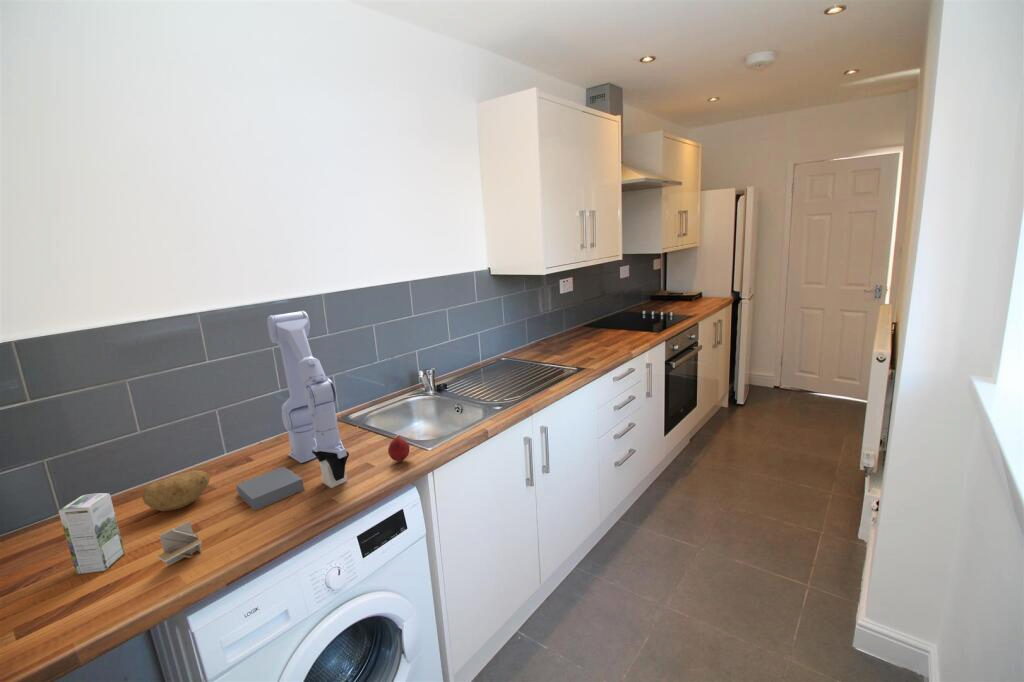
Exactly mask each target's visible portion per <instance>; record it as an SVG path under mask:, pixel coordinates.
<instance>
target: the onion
mask: <svg viewBox="0 0 1024 682" xmlns="http://www.w3.org/2000/svg"><path fill="white" fill-rule="evenodd" d="M387 451H388V452H387V453H388V456H389V457H390V458H391V460H393V461H394V462H397V463H403V461H404V460H405V459H406V458H407V457H408V456H409V455H410V445H409V443H408V442H407V441H406V440H405V439H403V438H401V436H400V435H399V434H397V435H395V438H394V439H393V440H392V441H391V442H389V445H388V448H387Z"/></svg>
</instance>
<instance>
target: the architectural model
mask: <svg viewBox="0 0 1024 682" xmlns="http://www.w3.org/2000/svg"><path fill="white" fill-rule="evenodd" d="M159 539H160V542H161V545H162V551H163V552H162V553H160V554H158V555H157V558H158V559H159V560H161V561H162V562H164V563H166V566H167V567H169V566H172V565H173V564H175V563H177V562H179V561H180V560H183V559H184V558H188V559H191V557H192V558H193V557H194V556H193V552H194V553H196V552H199V551H200V552H202V553H203V550H202V546H201V544H202V540H201V539H200V537H199V536H198V533H197V532H196V533H194V531H193V527H192V524H191V521H190V520H188V521H187V522H184V523H182V524H180V525H178V526H176V527H174V528H172V529H170V530H168V531H167V530H166V531H165V532H164V533H161V534H160V535H159ZM200 552H199V553H200Z"/></svg>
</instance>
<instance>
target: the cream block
mask: <svg viewBox="0 0 1024 682" xmlns="http://www.w3.org/2000/svg"><path fill="white" fill-rule="evenodd" d="M319 465H320V473H321V477H322V478H321V479H322V483H323V484H324V485H326V486H327V487H329V488H331V489H333V488H335V487H337V486H339V485H341V484H343V483H346V482H348V477H347V471H346V469H345V473H344V478H343V479H340V480H338V481H336V480H335V479H334V476H333V473H332V470H331V467H330V465H329V464H328V462H327V461H326V460H324V461H321V462H319Z"/></svg>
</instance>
